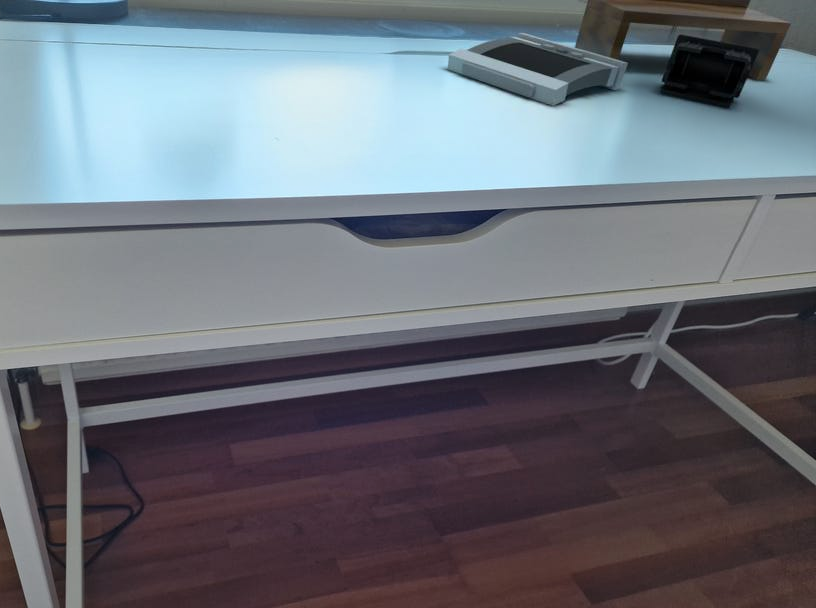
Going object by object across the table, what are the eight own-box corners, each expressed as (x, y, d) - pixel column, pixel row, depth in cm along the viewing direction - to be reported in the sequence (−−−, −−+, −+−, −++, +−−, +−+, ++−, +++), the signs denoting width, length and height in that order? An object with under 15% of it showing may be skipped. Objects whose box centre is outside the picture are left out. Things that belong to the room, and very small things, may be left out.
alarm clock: (628, 62, 88) (561, 65, 78) (614, 99, 91) (548, 106, 81) (522, 32, 98) (451, 32, 88) (513, 66, 100) (443, 69, 91)
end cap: (737, 98, 92) (761, 45, 88) (733, 110, 87) (758, 54, 83) (662, 82, 95) (681, 30, 91) (654, 93, 90) (674, 38, 86)
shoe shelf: (765, 80, 101) (798, 7, 95) (605, 70, 98) (629, -6, 92) (721, 59, 111) (749, -8, 105) (573, 50, 107) (593, -21, 101)
